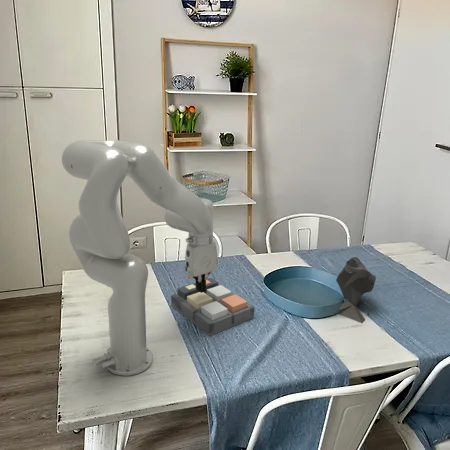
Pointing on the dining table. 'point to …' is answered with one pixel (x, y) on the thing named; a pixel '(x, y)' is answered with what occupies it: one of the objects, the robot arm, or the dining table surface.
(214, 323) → the keypad
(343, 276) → the dark faceted sculpture
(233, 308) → the key terracotta
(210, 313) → the key grey front
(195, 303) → the key sand
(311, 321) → the dining table surface
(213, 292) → the key grey back
